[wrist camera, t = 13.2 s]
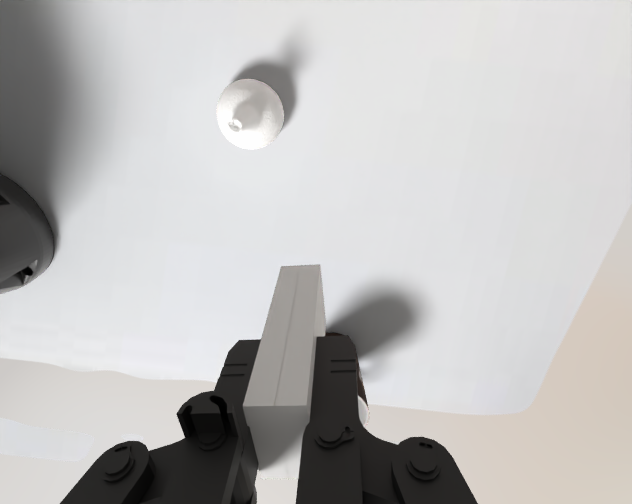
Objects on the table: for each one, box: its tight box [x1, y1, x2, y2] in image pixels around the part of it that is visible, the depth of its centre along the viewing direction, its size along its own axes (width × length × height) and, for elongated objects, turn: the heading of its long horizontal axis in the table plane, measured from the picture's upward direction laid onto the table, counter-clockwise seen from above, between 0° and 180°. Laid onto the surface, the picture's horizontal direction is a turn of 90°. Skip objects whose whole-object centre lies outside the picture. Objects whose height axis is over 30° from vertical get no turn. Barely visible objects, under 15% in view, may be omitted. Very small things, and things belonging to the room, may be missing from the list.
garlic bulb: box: [216, 79, 284, 149], centre depth 34 cm, size 6×6×8 cm
